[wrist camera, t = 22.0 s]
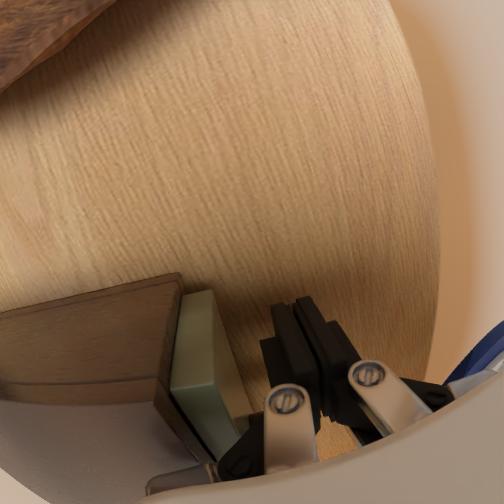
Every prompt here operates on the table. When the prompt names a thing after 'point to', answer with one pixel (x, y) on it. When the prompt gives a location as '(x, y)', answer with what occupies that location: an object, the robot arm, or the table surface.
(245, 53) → the table surface
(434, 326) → the table surface
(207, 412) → the drawer
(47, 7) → the bowl
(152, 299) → the cabinet
